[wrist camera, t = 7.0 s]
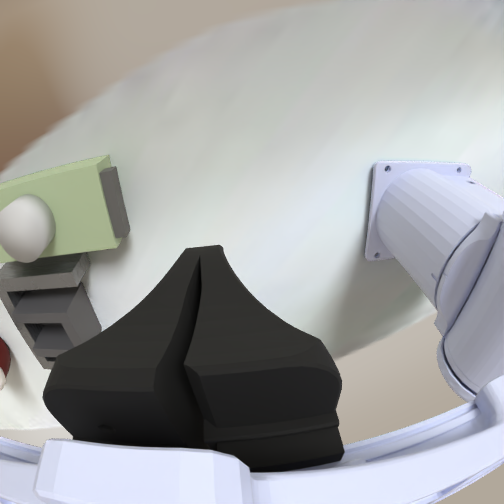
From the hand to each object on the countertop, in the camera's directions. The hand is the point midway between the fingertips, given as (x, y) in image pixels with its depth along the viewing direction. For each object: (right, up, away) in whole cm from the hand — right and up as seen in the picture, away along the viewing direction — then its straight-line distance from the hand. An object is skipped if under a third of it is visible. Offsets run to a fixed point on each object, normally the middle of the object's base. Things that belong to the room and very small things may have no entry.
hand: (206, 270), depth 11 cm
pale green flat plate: (-13, +4, +8) cm, 16 cm away
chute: (-15, -4, +13) cm, 20 cm away
